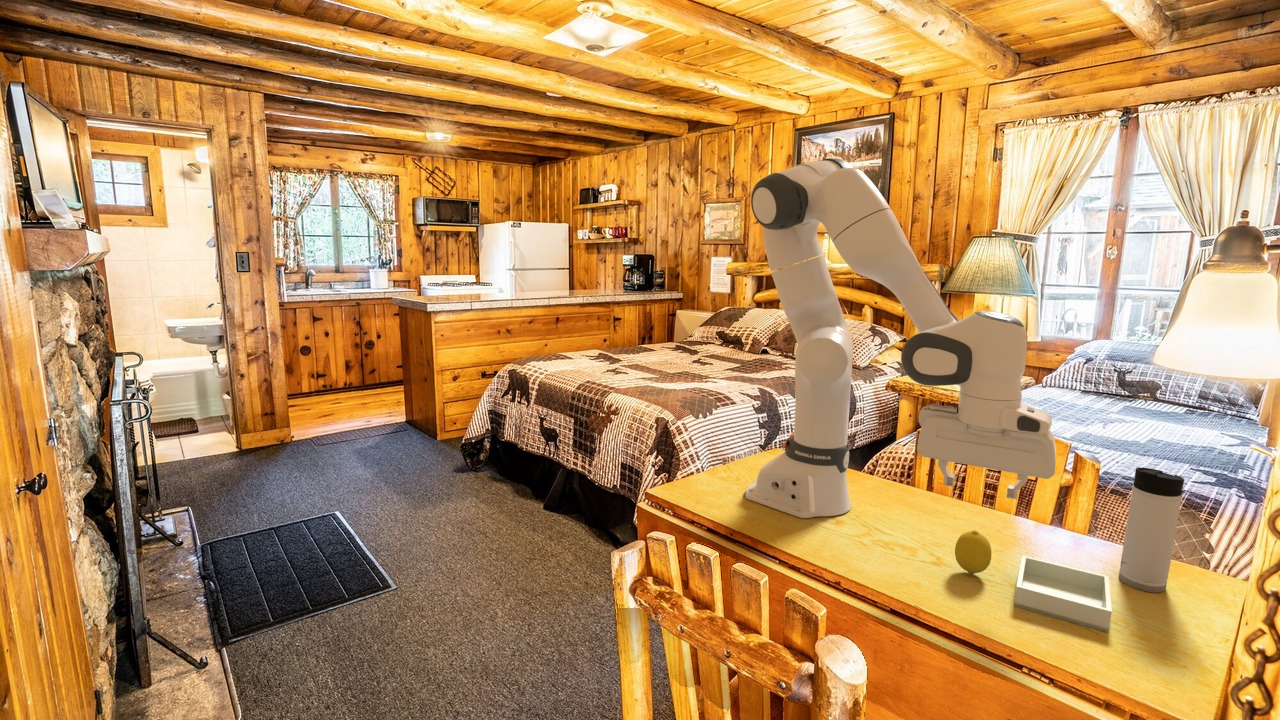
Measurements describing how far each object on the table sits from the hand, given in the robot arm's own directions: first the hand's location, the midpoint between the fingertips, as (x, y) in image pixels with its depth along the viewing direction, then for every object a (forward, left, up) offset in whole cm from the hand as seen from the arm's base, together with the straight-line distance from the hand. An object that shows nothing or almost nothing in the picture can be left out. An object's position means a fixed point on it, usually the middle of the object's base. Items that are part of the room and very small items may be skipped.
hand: (979, 491), depth 106 cm
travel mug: (+24, +13, -15) cm, 31 cm away
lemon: (0, 0, -15) cm, 15 cm away
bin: (+13, -1, -15) cm, 20 cm away
